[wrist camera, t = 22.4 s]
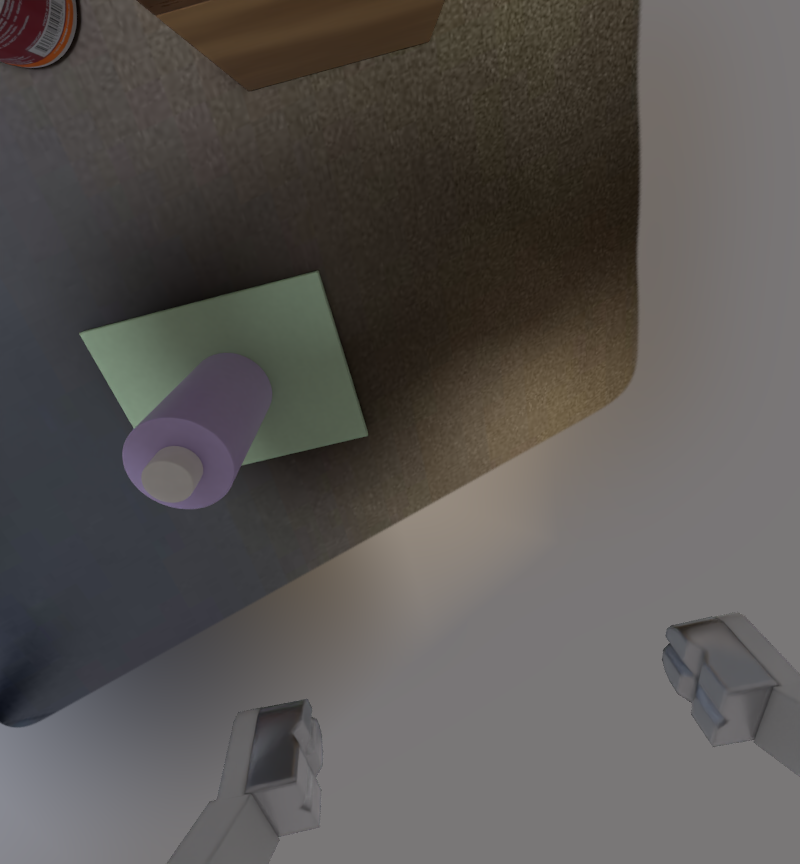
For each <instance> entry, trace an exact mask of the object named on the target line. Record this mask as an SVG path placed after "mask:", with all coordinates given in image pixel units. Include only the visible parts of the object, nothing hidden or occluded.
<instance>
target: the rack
mask: <svg viewBox="0 0 800 864" xmlns="http://www.w3.org/2000/svg"><path fill="white" fill-rule="evenodd" d="M137 1H138V2H139V3H140V4H141V5H143V6H144V7H145V8H146V9H148V10H149V11H150V12H151V13H153V14H154V15H156V17H157V18H159V19H160V20H161V21H162V22H164V23H165V24H166V25H167V26H169V27H170V28H171V29H172V30H173V31H175V32H176V33H177V34H178V35H180V36H181V37H182V38H183V39H185V40H186V41H187V42H188V43H190V44H191V45H192V46H193V47H195V48H196V49H197V50H198V51H199V52H201V53H202V54H203V55H204V56H206V57H207V58H208V59H209V60H211V61H212V62H213V63H214V64H216V65H217V66H218V67H219V68H220V69H222V70H223V71H224V72H225V73H227V74H228V75H229V76H230V77H232V78H233V79H234V80H235V81H237V82H238V83H239V84H240V85H242V86H243V87H244V88H245V89H246V90H248V91H252V90H255V89H259V88H263V87H266V86H270V85H274V84H277V83H281V82H284V81H288V80H292V79H295V78H299V77H303V76H306V75H310V74H314V73H317V72H321V71H324V70H328V69H332V68H335V67H339V66H343V65H346V64H350V63H353V62H357V61H361V60H364V59H368V58H372V57H375V56H379V55H383V54H386V53H390V52H393V51H397V50H401V49H404V48H408V47H412V46H415V45H419V44H423V43H426V42H429V41H430V39H431V36H432V33H433V31H434V28H435V25H436V23H437V20H438V17H439V15H440V12H441V9H442V7H443V4H444V1H445V0H137Z"/></svg>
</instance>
